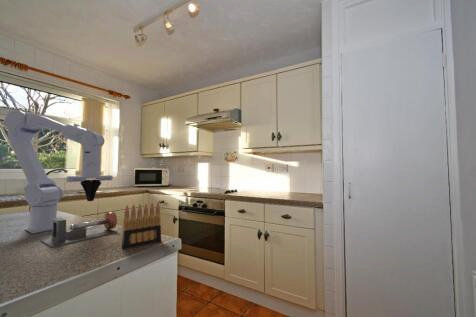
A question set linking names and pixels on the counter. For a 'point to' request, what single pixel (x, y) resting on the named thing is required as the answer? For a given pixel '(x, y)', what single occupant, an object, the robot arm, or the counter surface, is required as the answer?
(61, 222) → the eye bracket
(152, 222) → the ammunition clip
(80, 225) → the hammer
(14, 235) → the counter surface
